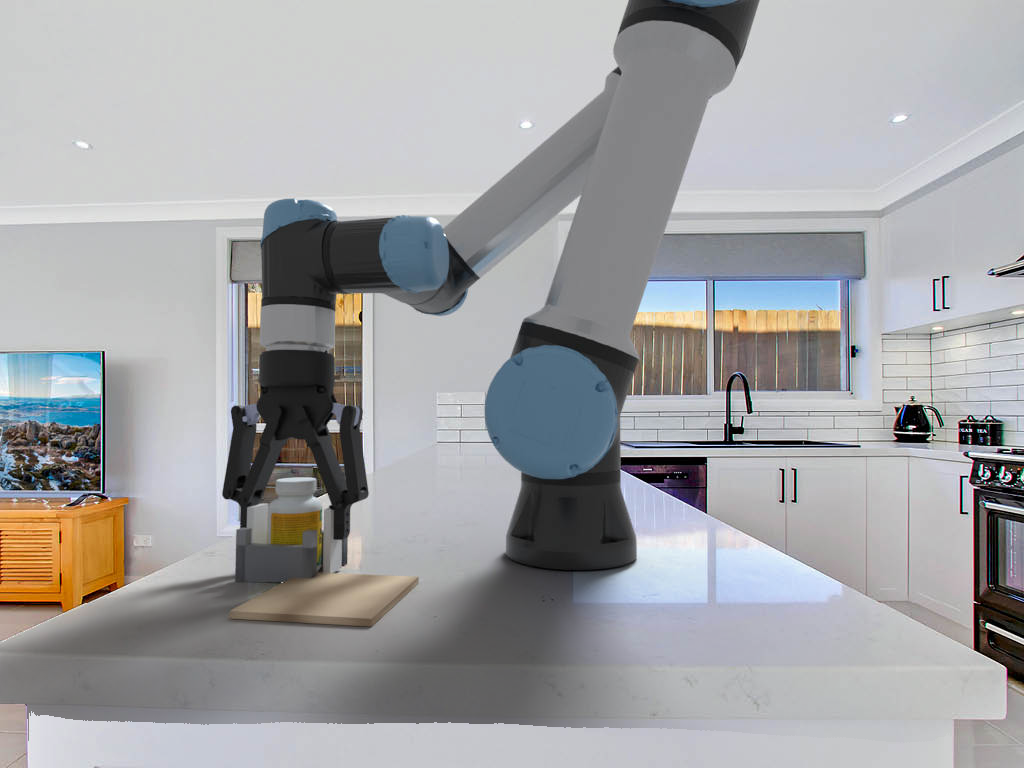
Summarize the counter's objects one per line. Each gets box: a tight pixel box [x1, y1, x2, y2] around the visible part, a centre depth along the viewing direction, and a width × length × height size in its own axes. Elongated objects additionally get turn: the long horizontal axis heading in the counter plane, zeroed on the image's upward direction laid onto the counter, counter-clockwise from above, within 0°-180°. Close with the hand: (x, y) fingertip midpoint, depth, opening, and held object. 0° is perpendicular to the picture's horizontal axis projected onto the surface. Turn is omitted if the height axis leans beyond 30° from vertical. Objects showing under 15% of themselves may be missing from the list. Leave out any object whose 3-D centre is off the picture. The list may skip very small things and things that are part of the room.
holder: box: [234, 527, 349, 583], centre depth 63 cm, size 8×8×5 cm
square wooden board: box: [229, 571, 420, 628], centre depth 54 cm, size 12×12×1 cm
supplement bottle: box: [267, 476, 323, 572], centre depth 63 cm, size 5×5×10 cm
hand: (294, 569), depth 63 cm, fingers open, 8 cm apart
